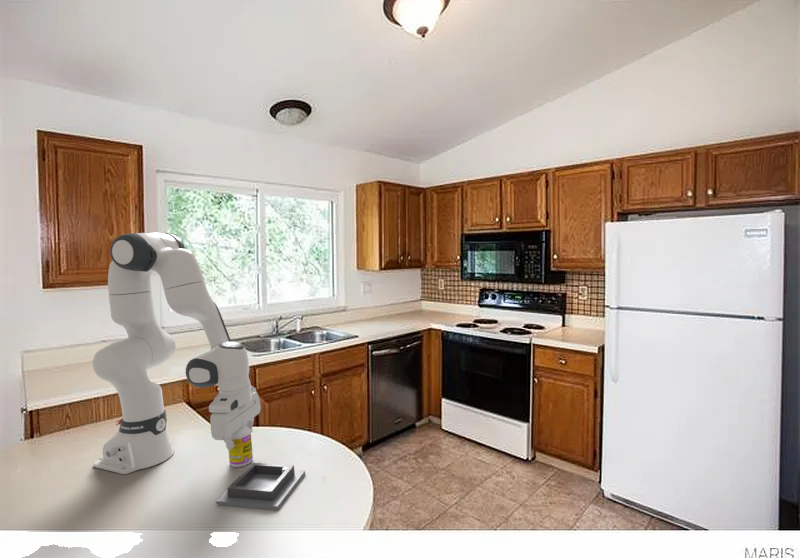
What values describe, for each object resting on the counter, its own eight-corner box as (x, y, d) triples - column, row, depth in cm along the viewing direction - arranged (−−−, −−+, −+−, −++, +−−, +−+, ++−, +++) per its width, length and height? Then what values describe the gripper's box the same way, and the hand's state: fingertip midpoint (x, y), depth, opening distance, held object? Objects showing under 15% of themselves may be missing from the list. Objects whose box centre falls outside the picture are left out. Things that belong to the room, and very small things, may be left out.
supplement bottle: (245, 468, 123) (241, 426, 121) (225, 467, 124) (221, 425, 123) (257, 457, 129) (253, 417, 128) (238, 456, 130) (234, 416, 129)
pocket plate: (216, 504, 106) (214, 491, 106) (250, 470, 122) (249, 459, 121) (277, 510, 102) (276, 496, 102) (305, 474, 118) (304, 462, 118)
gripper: (245, 383, 135) (249, 425, 137) (204, 409, 116) (209, 457, 117) (263, 384, 134) (267, 425, 135) (224, 409, 114) (229, 458, 115)
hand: (240, 440), depth 126 cm, fingers open, 8 cm apart
